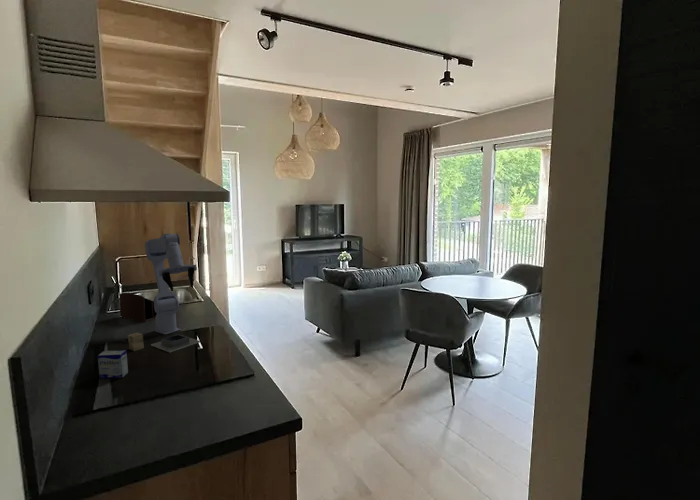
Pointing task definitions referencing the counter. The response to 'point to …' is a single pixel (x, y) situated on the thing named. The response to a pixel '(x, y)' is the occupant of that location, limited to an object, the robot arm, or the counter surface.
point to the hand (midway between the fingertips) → (182, 288)
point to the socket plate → (174, 343)
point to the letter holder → (136, 307)
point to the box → (112, 364)
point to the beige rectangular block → (135, 341)
